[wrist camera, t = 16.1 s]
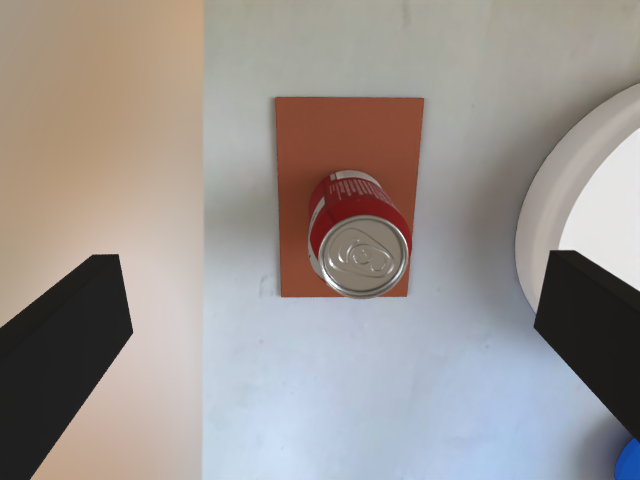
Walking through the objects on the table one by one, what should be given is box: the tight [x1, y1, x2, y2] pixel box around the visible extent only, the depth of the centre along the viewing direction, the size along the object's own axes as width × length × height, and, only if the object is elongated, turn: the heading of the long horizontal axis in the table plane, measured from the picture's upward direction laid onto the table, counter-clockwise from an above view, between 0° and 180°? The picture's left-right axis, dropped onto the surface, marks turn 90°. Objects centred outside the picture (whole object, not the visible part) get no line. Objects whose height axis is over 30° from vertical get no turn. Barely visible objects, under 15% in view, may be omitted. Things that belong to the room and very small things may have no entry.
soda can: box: [308, 170, 412, 299], centre depth 31 cm, size 7×7×12 cm
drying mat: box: [276, 97, 424, 297], centre depth 37 cm, size 18×12×1 cm, turn 0°
